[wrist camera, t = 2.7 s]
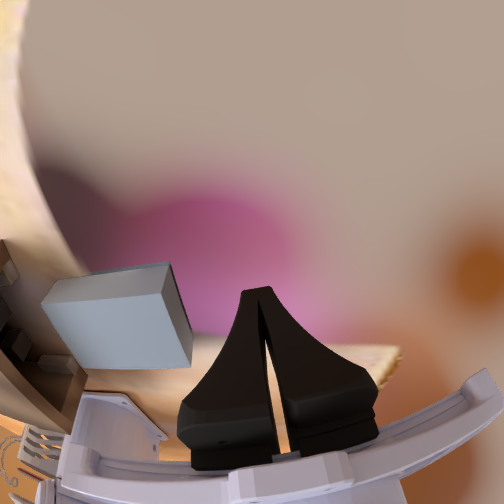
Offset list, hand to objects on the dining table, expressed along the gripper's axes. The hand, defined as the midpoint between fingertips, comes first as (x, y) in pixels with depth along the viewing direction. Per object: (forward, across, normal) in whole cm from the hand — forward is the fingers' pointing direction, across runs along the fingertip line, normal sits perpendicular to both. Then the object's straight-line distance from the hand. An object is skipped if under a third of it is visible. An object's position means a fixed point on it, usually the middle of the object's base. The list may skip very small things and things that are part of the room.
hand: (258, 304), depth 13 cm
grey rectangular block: (+1, +7, 0) cm, 8 cm away
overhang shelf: (+1, +19, 0) cm, 19 cm away
